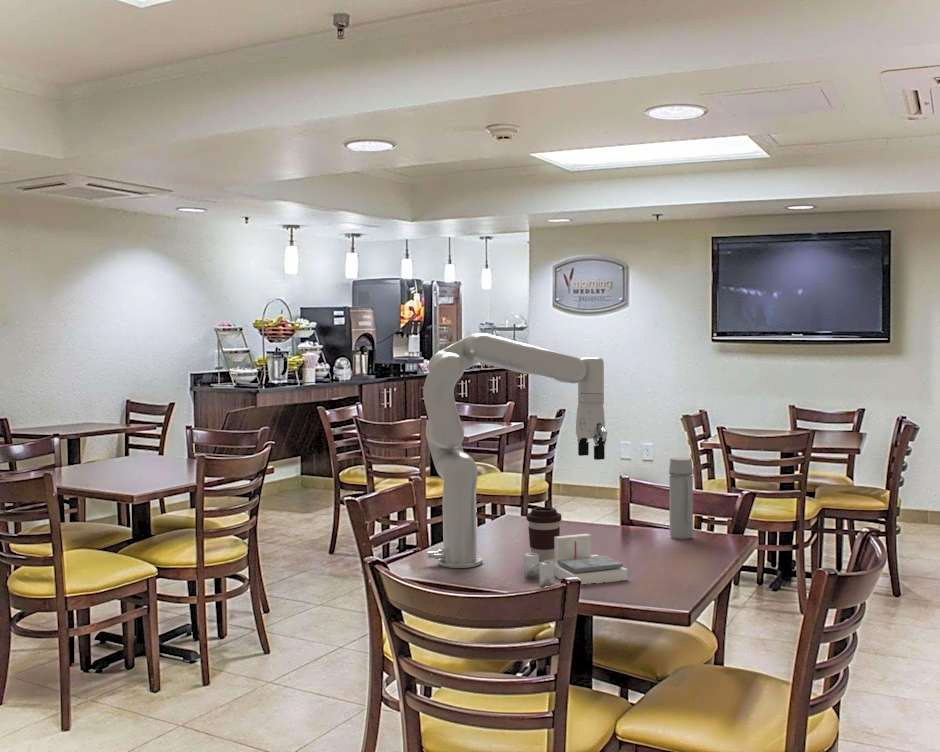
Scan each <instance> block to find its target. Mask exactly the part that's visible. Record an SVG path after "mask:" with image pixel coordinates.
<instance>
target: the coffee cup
mask: <svg viewBox="0 0 940 752" xmlns="http://www.w3.org/2000/svg"><path fill="white" fill-rule="evenodd" d="M562 519H563V518H562V514H561V513H560V512H558V511H557V509H556V508H554V507H549V506H541V507H540V506H538V507H534V508H532V509H531V511H530V512H528V513H527V514H526V521H527V522H528V538H529V547H530V553H537V554H539V563H540V562H543V561H544V560H548V559H555V551H554V537H556V536H560V529H561V527H560V522H561V521H562Z"/></svg>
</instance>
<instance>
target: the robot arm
mask: <svg viewBox="0 0 940 752" xmlns="http://www.w3.org/2000/svg"><path fill="white" fill-rule="evenodd" d="M478 363H481V364H485V365H488V366H493V367H496V368H499V369H505V370H508V371H512V372H516V373H521V374H523V375H524V374H526V375H536V376H541V377H546V378H551V379H554V380H555V381H557V382H559V383H566V384H577V409H576V418H575V419H576V420H575V435H576V437H577V440H576V441H577V443H578V444H577V446H578V447H577V453H578V456H583V457H584V456H589V453H590V452H589V448H590V447H589V443H590V442H589V441H588V440H589V439H590V440H591V439H592V440H593V442H594V445H593V459H594V460H595V461H598V460H605V453H606V452H605V450H606V449H605V447H606V442H607V437H608V431H607V430H606V425H605V424H606V421H605V418H606V417H605V411H604V404H605V385H604V383H605V373H604V372H605V364H604V363H605V361H604V359H603V358H601V357H600V356H599V357H598V356H593V357H590V356H589V357H588V356H585V357H577V356H573V355H569V354H565V353H561V352H558V351H553V350H550V349H545V348H541V347H539V346H535V345H532V344H528V343H525V342H521V341H517V340H513V339H509V338H506V337H501V336H497V335H495V334H490V333H487V332H476V333H475V332H474V333H471V334H468V335H467V336H465V337H463V338H462V339H460V340H458V341H456V342H454V343H452V344H450V345H449V346H447V347H445V348H443V349H442V350H439V351H437V352H436V353H435V354H433V355H432V357H431V358H430V359H429V362H428V366H427V367H428V373H427V375H426V378H425V380H424V383H423V389H422V391H423V393H422V395H423V397H422V398H423V400H424V406H425V410H426V415H427V417H428V418H427V419H428V421H427V423H426V426H425V438H426V442H427V444H428V448H429V451H430V455H431V458H432V462H433V465H434V468H435V470H436V472H437V474H438V476H439V477H440V478H441V479H443V488H442V538H443V539H442V540H443V542H442V544H443V545H442V546H440V547H439V548H440V549H437V551H436V550H432V551H426V558H427V559H429V560H430V559H433V560H437V563H438V565H439V566H441V567H443V568H450V569H467V568H474V567H478V566H480V565H482V564H483V558H482V557H481V556H480V555H478V552H477V551H478V550H477V549H478V548H477V545H478V543H477V534H478V533H477V486H478V477H479V475H478V473H479V472H478V465H477V463H476V462H475V460H474V459H473V457H472V456H471V455H469V454H468V453H466V452H465V451H464V447H463V445H462V443H463V441H464V439H465V438H464V437H465V429H464V426H463V423H462V420H461V417H460V414H459V411H458V408H457V403H456V399H455V393H454V392H455V388H456V384H457V383H458V381H460V379H461V378H462V376H463V375H464V372H465V371H466V370H468V369H469V368H471V367H473V366H474V365H476V364H478Z"/></svg>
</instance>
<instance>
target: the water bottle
mask: <svg viewBox="0 0 940 752" xmlns="http://www.w3.org/2000/svg"><path fill="white" fill-rule="evenodd" d="M692 461H693V460H692V458H689V457H684V456H683V457H682V456H681V457H679V456H678V457H671V458H670V459H669V466H668V467H669V468H668V475H669V478H668V479H669V481H668V483H669V486H668V487H669V536H670V537H671V538H672V539H675V540H690V539H691V538H692V537H693V536H694V512H693V511H694V499H693V498H694V496H693V495H694V488H693V487H694V485H693V483H694V481H693V480H694V477H695V473H694V472H693V470H694V469H693V462H692ZM689 538H690V539H689Z"/></svg>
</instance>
